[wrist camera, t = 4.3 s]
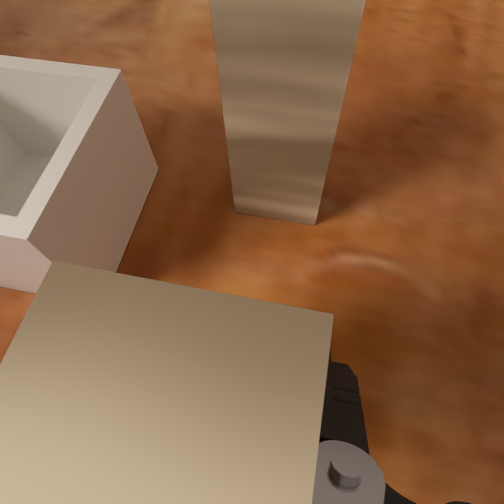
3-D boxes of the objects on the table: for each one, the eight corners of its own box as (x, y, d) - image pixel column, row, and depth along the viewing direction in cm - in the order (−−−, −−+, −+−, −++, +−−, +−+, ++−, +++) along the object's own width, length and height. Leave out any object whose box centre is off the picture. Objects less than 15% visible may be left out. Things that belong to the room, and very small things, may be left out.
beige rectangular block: (314, 225, 18) (372, -28, 9) (234, 212, 19) (204, -41, 9) (322, 177, 20) (379, -89, 10) (247, 166, 20) (232, -97, 11)
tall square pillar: (273, 494, 13) (299, 613, 4) (164, 467, 14) (-72, 505, 4) (286, 405, 15) (333, 314, 5) (188, 382, 15) (53, 260, 5)
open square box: (101, 306, 17) (26, 239, 11) (-56, 275, 18) (-193, 199, 12) (158, 169, 20) (121, 69, 15) (24, 148, 21) (-55, 48, 16)
